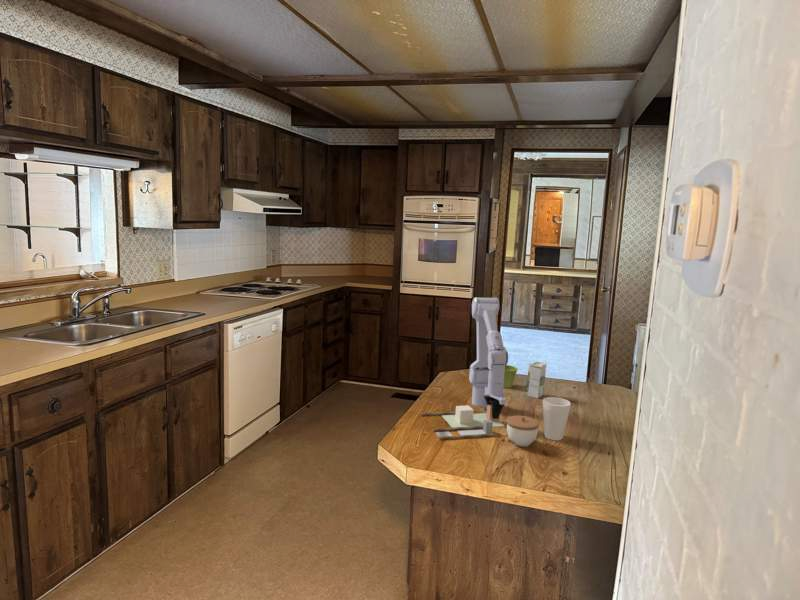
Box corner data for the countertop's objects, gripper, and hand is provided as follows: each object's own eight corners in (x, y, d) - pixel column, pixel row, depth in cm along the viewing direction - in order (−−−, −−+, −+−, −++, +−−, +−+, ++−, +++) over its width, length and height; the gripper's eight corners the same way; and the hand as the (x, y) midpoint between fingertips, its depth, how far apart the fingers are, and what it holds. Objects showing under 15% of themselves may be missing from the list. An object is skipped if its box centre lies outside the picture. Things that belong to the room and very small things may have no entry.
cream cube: (467, 418, 207) (468, 405, 206) (472, 423, 202) (473, 410, 201) (455, 418, 205) (455, 405, 205) (459, 423, 201) (460, 410, 200)
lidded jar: (540, 440, 192) (542, 414, 190) (533, 452, 182) (536, 425, 181) (509, 434, 196) (511, 408, 195) (501, 445, 186) (503, 418, 185)
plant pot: (518, 385, 253) (519, 366, 252) (513, 390, 245) (515, 371, 243) (498, 381, 257) (499, 363, 256) (493, 387, 249) (494, 368, 247)
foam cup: (552, 443, 189) (555, 407, 187) (534, 433, 197) (537, 398, 195) (573, 439, 194) (576, 404, 192) (554, 430, 202) (557, 395, 200)
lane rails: (472, 415, 213) (472, 410, 213) (497, 439, 191) (497, 434, 191) (420, 417, 208) (420, 413, 208) (439, 443, 186) (439, 438, 186)
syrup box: (530, 392, 243) (533, 360, 241) (543, 395, 240) (546, 363, 238) (525, 395, 239) (528, 363, 236) (538, 399, 235) (541, 366, 233)
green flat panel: (490, 414, 213) (491, 399, 212) (505, 427, 201) (506, 412, 200) (441, 417, 208) (442, 402, 207) (453, 431, 196) (454, 414, 195)
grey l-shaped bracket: (488, 431, 197) (489, 418, 196) (494, 436, 192) (495, 423, 192) (456, 433, 194) (457, 420, 193) (461, 438, 189) (462, 425, 189)
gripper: (478, 375, 210) (476, 410, 212) (494, 388, 196) (491, 424, 198) (495, 375, 212) (493, 409, 214) (512, 387, 198) (509, 423, 200)
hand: (493, 416), depth 206 cm, fingers closed on green flat panel, 3 cm apart
